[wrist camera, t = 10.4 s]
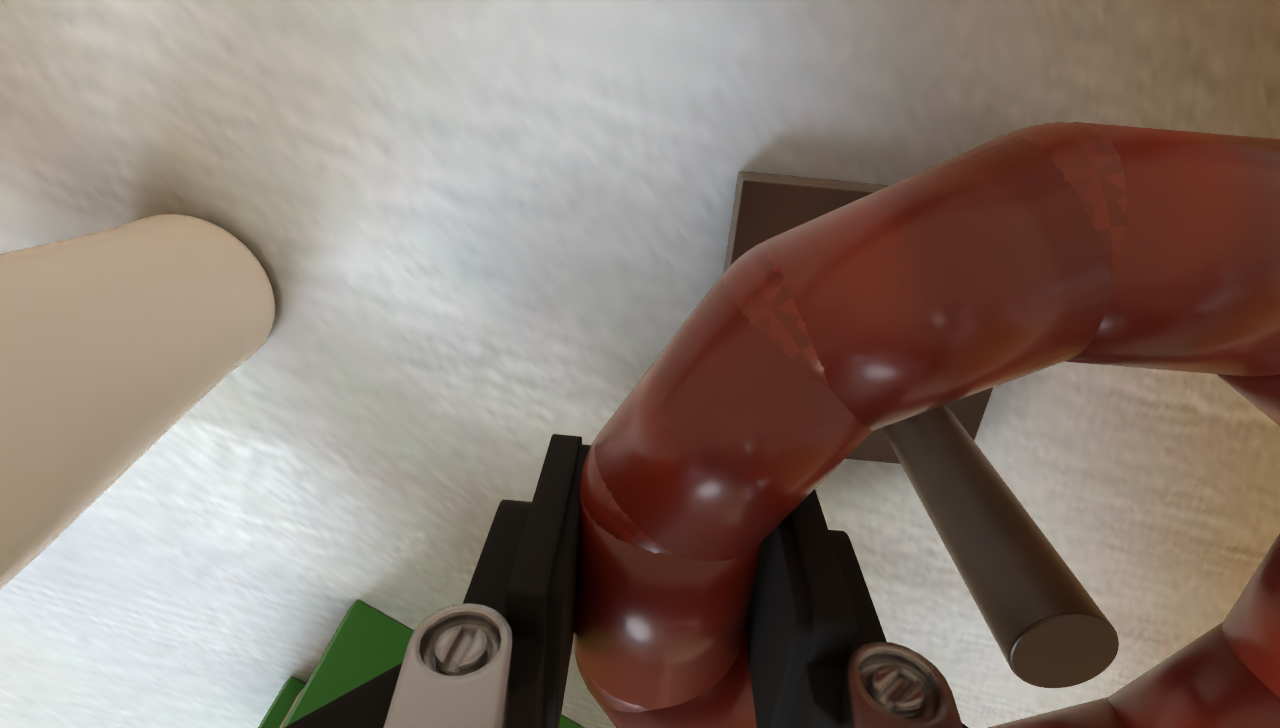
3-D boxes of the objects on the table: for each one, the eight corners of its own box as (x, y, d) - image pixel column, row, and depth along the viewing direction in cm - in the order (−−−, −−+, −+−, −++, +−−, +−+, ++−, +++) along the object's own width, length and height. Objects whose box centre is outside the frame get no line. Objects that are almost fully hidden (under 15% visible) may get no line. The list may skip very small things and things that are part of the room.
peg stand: (1032, 198, 20) (1561, 432, 8) (948, 446, 24) (1220, 851, 12) (738, 170, 20) (833, 363, 8) (701, 423, 24) (730, 803, 12)
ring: (1666, 164, 9) (2065, 216, 7) (1196, 804, 16) (1302, 958, 13) (607, 75, 9) (584, 92, 7) (573, 754, 16) (555, 900, 13)
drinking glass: (130, 144, 21) (-859, 336, 7) (332, 259, 22) (-191, 599, 9) (84, 313, 24) (-706, 681, 10) (268, 406, 25) (-211, 841, 11)
